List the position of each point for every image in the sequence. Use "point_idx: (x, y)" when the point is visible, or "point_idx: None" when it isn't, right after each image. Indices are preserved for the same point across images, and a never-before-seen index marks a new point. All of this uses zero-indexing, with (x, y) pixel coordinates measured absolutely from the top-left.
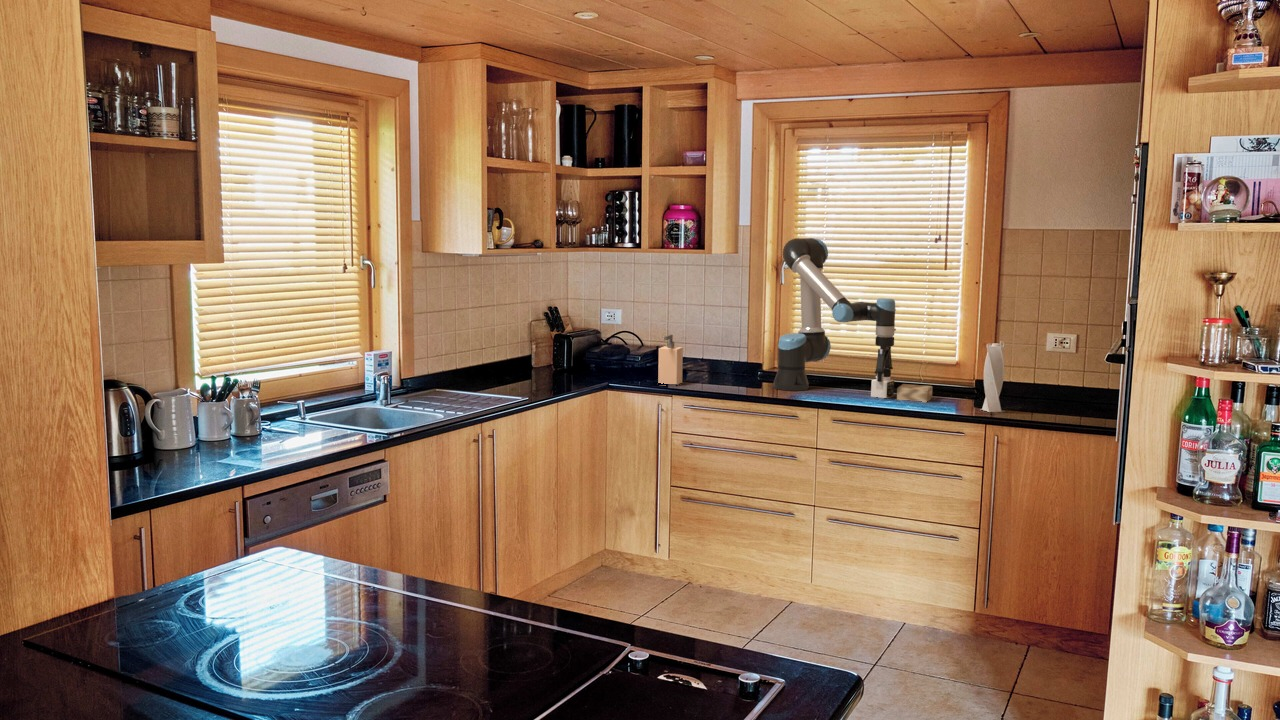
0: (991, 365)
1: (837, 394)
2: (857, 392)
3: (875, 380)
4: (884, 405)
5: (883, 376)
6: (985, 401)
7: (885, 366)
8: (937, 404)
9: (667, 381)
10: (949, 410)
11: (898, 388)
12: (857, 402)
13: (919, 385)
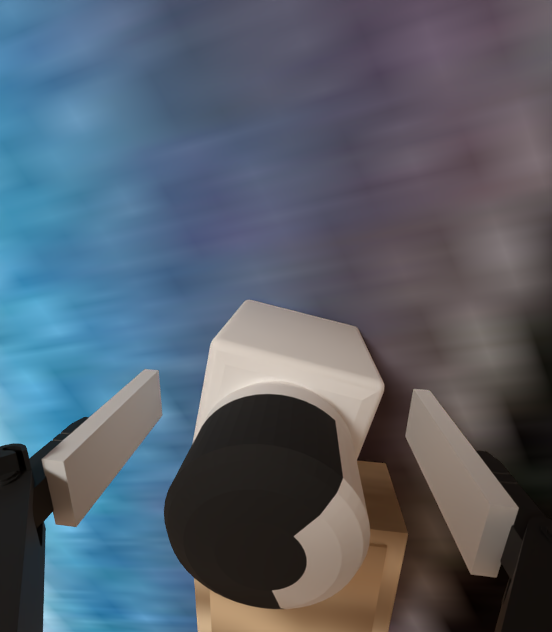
0: None
1: (229, 17)
2: (410, 162)
3: (206, 378)
4: (19, 407)
5: (89, 498)
6: None
7: (516, 571)
8: None
9: None
10: (89, 627)
11: None
12: (2, 258)
13: (359, 620)
